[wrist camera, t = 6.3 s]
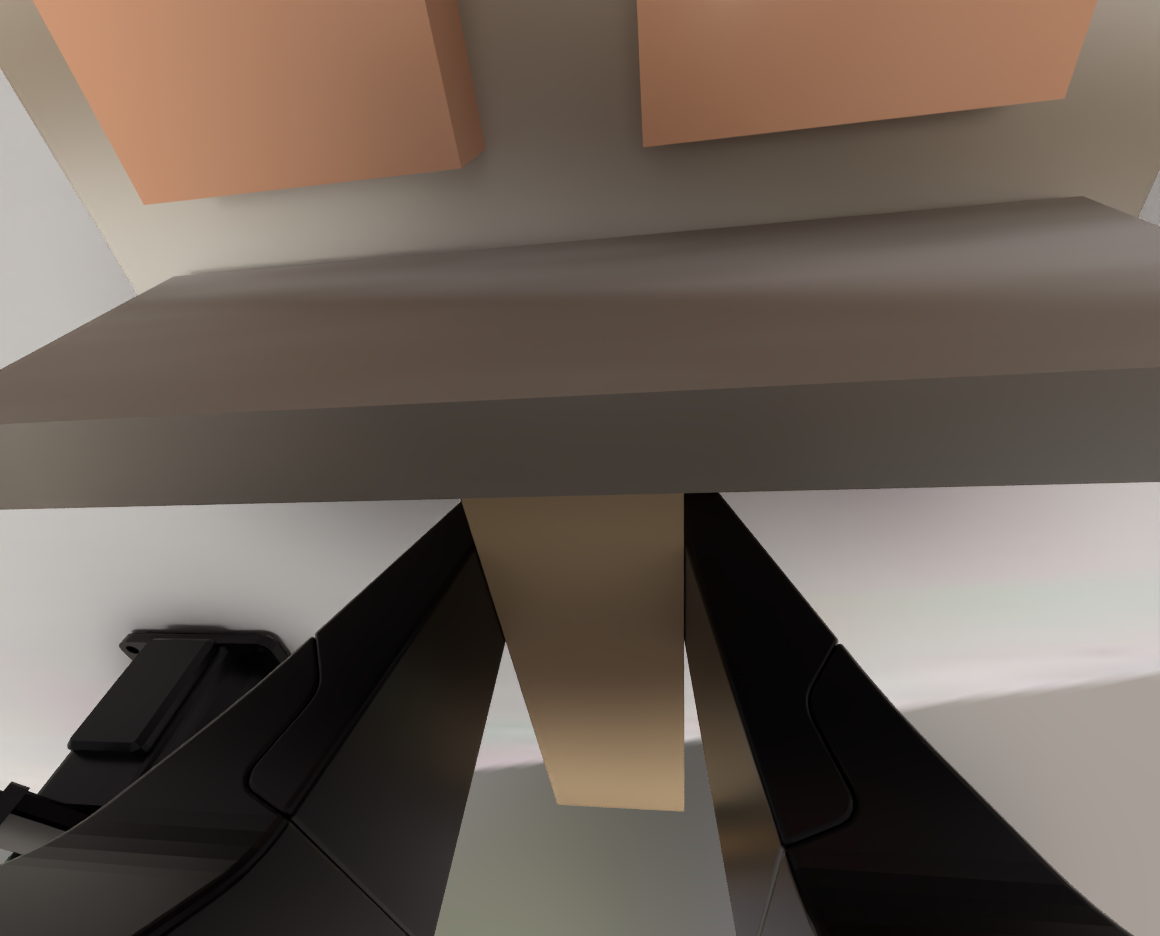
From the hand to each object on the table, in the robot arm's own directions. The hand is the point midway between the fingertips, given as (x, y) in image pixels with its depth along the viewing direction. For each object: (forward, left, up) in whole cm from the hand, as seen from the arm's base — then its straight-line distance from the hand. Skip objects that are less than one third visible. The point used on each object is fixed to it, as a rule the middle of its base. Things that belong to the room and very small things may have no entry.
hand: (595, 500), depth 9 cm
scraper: (-2, 0, -1) cm, 2 cm away
